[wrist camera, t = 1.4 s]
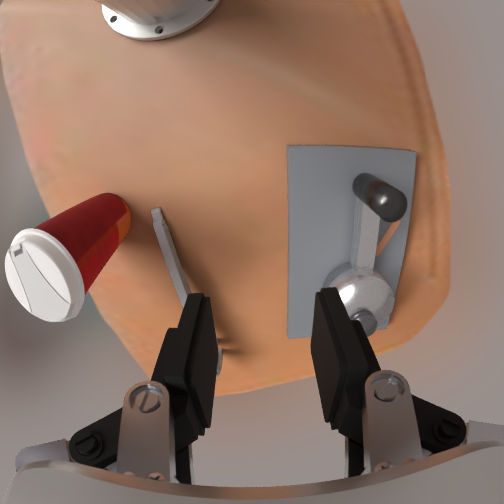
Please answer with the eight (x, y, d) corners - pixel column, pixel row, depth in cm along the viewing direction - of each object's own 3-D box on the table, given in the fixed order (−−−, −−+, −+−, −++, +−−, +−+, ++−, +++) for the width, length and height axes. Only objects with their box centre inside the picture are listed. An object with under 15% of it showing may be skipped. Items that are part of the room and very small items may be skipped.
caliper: (224, 349, 37) (220, 385, 32) (216, 350, 38) (211, 386, 32) (160, 205, 29) (140, 228, 23) (151, 209, 29) (129, 232, 23)
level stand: (286, 144, 26) (288, 146, 24) (409, 149, 26) (416, 151, 24) (286, 330, 36) (288, 339, 34) (382, 321, 35) (386, 329, 34)
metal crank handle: (327, 170, 25) (350, 188, 19) (395, 172, 25) (431, 190, 19) (319, 315, 32) (331, 357, 26) (375, 310, 32) (395, 348, 26)
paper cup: (71, 197, 28) (-12, 252, 15) (125, 172, 27) (41, 221, 14) (98, 257, 31) (35, 333, 19) (152, 240, 30) (96, 323, 18)
